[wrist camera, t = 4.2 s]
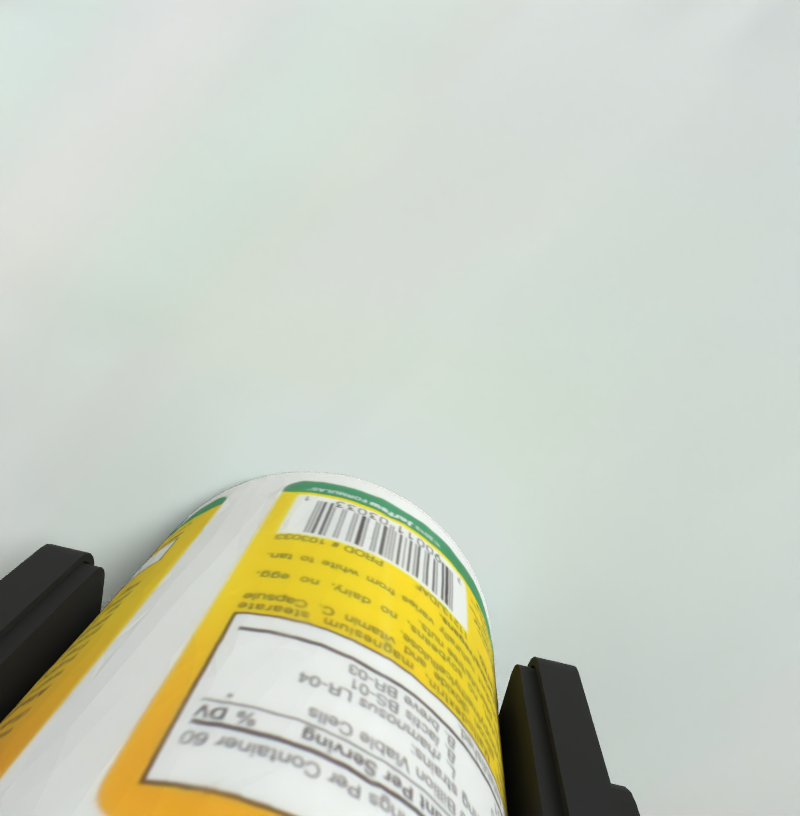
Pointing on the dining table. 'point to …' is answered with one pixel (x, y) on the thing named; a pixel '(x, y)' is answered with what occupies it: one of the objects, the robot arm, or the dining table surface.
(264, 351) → the dining table surface
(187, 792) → the supplement bottle
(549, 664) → the robot arm
